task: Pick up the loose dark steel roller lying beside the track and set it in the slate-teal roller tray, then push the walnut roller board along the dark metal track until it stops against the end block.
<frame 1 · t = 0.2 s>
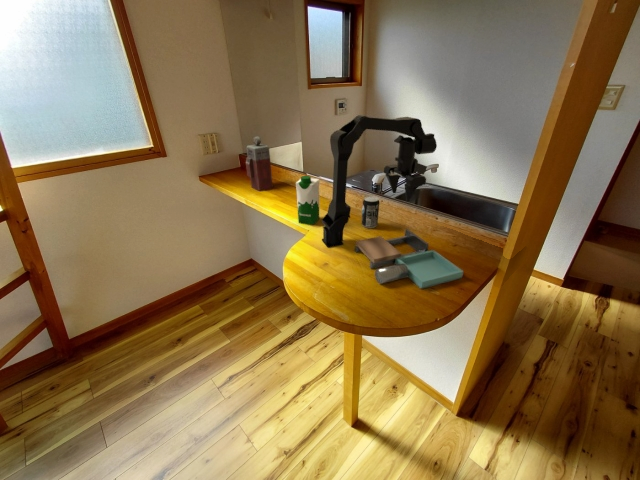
hand: (401, 196, 114), 15 cm above the counter, fingers open, 9 cm apart
beverage can: (369, 226, 126), on the counter
milk carton: (309, 221, 131), on the counter
tray: (427, 271, 96), on the counter
board: (377, 250, 103), point 2 cm above the counter, slide at 0.0 cm
maroon lidded pitcher: (260, 188, 170), on the counter
roller: (391, 273, 91), point 2 cm above the counter
track: (388, 254, 105), on the counter
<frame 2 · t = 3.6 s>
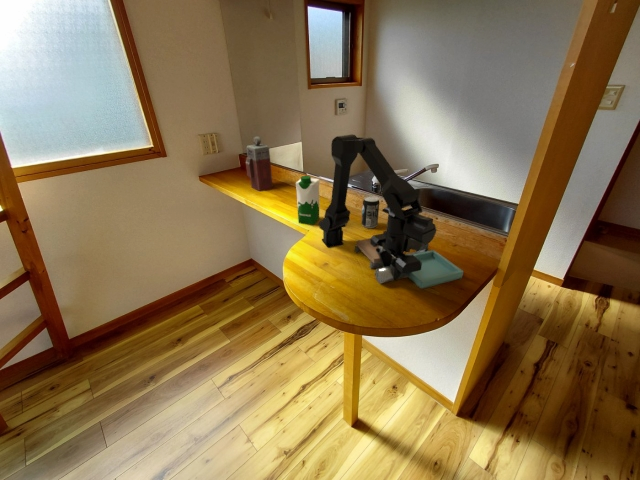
hand: (391, 275, 92), 1 cm above the counter, fingers closed on roller, 4 cm apart
roller: (391, 272, 91), point 2 cm above the counter, touching gripper
everything else where it was.
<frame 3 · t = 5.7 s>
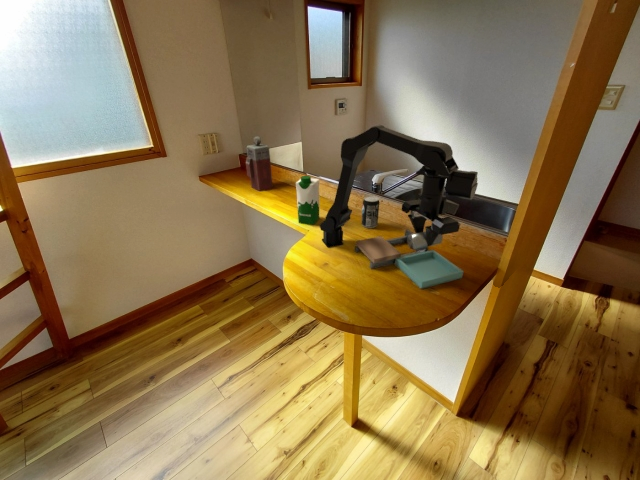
hand: (424, 242, 89), 11 cm above the counter, fingers closed on roller, 4 cm apart
roller: (424, 239, 88), point 12 cm above the counter, touching gripper
everything else where it was.
when the fingers open (3 cm above the counter, at t = 7.8 s): roller drops 1 cm, resting on tray.
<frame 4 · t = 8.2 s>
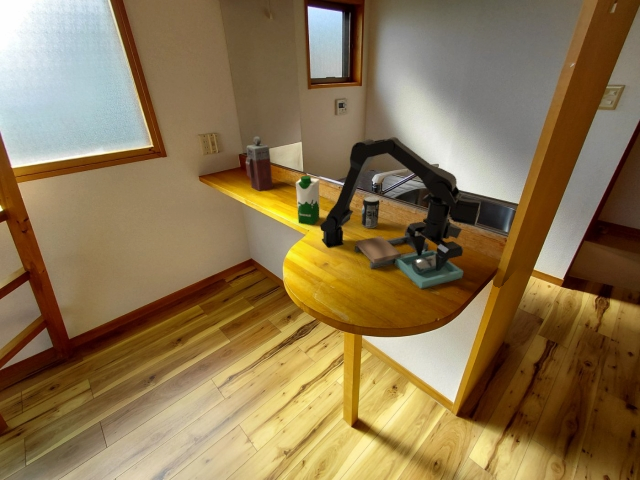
hand: (428, 262, 94), 3 cm above the counter, fingers open, 9 cm apart
roller: (428, 263, 94), point 3 cm above the counter, touching tray
everything else where it was.
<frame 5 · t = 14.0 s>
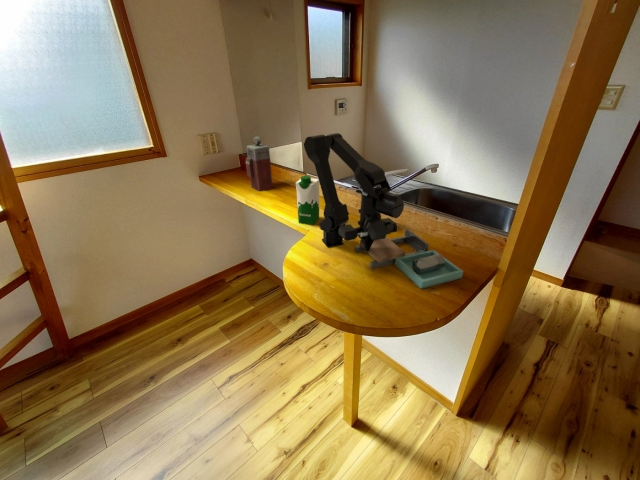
hand: (366, 251, 101), 3 cm above the counter, fingers closed
board: (381, 250, 103), point 2 cm above the counter, slide at 1.5 cm, touching gripper
everything else where it was.
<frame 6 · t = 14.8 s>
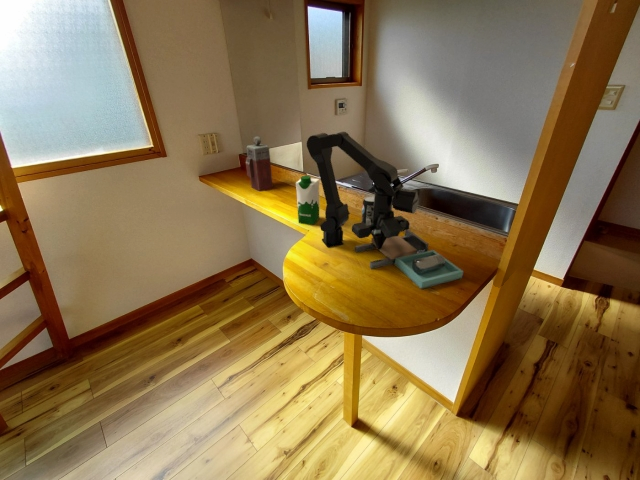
hand: (378, 248, 102), 3 cm above the counter, fingers closed
board: (393, 247, 104), point 2 cm above the counter, slide at 6.2 cm, touching gripper
everything else where it was.
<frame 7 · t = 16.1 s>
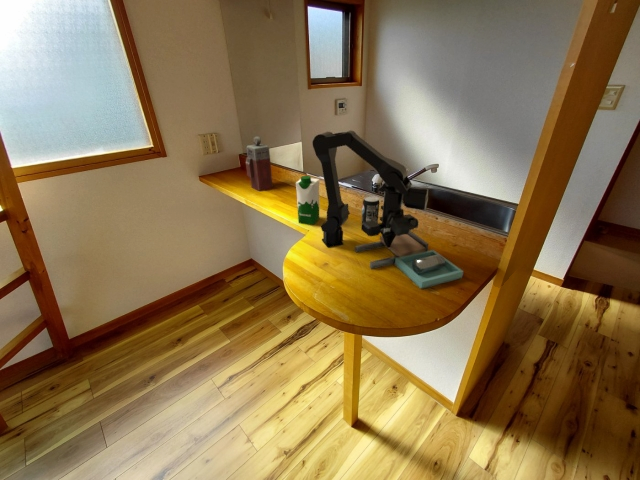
hand: (387, 247, 103), 3 cm above the counter, fingers closed
board: (401, 245, 105), point 2 cm above the counter, slide at 9.7 cm, touching gripper
everything else where it was.
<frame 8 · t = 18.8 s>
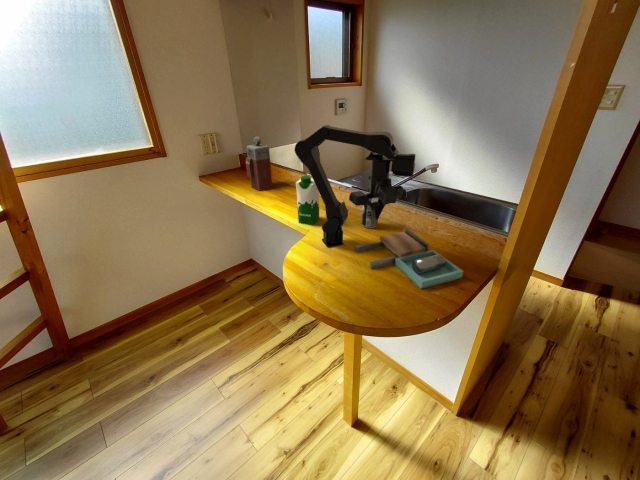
hand: (376, 218, 102), 12 cm above the counter, fingers closed
board: (401, 245, 105), point 2 cm above the counter, slide at 9.7 cm
everything else where it was.
at the end: board slide at 9.7 cm; roller inside the target area on the tray (0.0 cm from its centre), point 2.7 cm above the tray's base; the gripper is holding nothing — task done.
